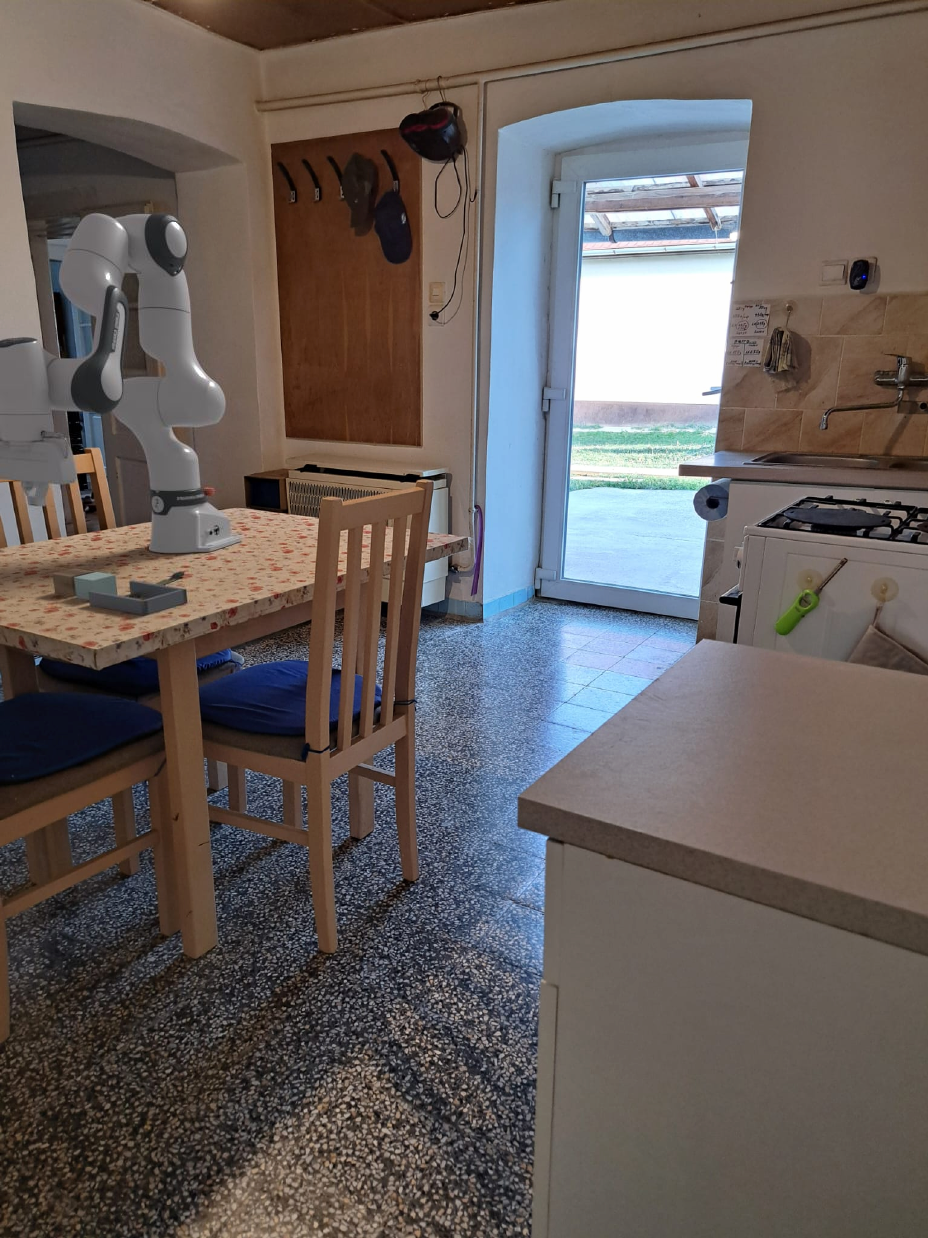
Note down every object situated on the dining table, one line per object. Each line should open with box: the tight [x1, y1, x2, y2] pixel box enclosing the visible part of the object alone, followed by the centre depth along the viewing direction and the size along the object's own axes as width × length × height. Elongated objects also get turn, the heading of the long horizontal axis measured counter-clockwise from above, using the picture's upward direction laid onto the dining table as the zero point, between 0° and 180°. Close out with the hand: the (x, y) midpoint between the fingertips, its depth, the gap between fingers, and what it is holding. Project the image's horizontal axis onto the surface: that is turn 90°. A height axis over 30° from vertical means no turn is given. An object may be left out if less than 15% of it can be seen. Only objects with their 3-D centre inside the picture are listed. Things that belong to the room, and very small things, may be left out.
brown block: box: [52, 568, 95, 598], centre depth 159 cm, size 5×5×4 cm
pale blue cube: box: [74, 571, 118, 601], centre depth 156 cm, size 5×5×4 cm
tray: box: [88, 579, 188, 616], centre depth 151 cm, size 10×14×2 cm
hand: (37, 505), depth 158 cm, fingers closed
